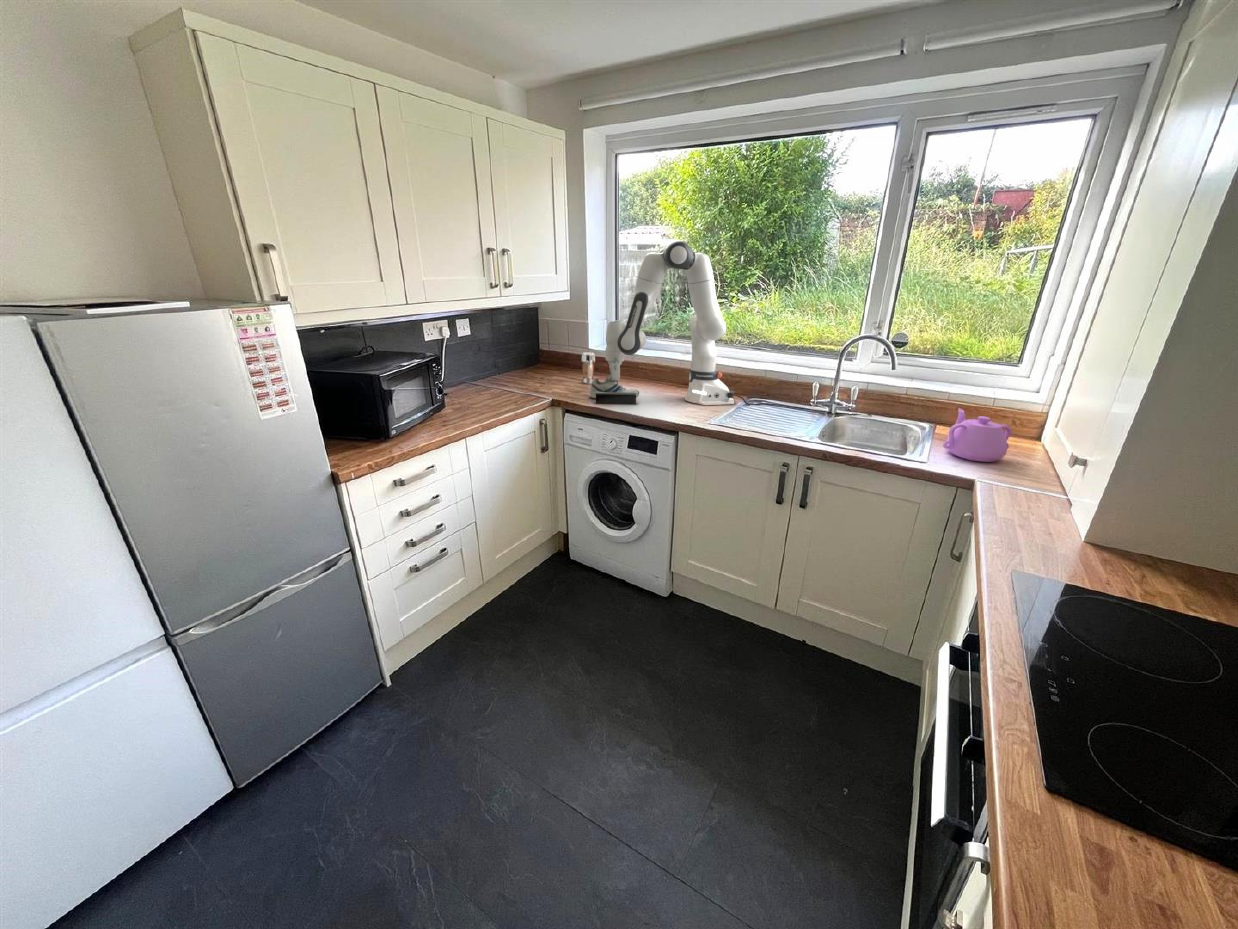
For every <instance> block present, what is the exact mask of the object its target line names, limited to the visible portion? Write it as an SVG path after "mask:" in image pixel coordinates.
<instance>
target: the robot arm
mask: <svg viewBox="0 0 1238 929" xmlns="http://www.w3.org/2000/svg"><path fill="white" fill-rule="evenodd" d="M671 269H673V270H683V271H684V272H685V274H686V279H687V280H686V281H687V286H688V293H689V300H690V305H691V306H692V308H693V311H694V314H693V315H692V317H690V320H689V323H688V324H689V325H688V326H689V330H690V340H691V363H690V368H689V373H688V387H687V392H686V394H685V397H684V400H685V401H687V402H689V403H692V404H697V405H701V406H719V405H723V406H724V405H734V404H735V399H734V397H737V398H740V399H741V400H742V401H743V402H744V404H745V405H748V406H760V405H763V406H764V405H767V406H776V407H784V408H791V409H798V410H804V411H812V412H818V413H825V414H830V413H829V412H830V411H829V410H828V411H829V412H828V411H827V410H820V409H814V408H807V407H802V406H795V405H790V404H789V405H787V404H779V403H770V402H758V403H750V402H747V401H746V400H745V398H744V397H742V396H741V395H739V394H736V393H735V390H730V389H729V387H728V386H727V385H726V384H725V383H724V382H723V381H722V380H720V378H722V377H723V373H721V372H720V371H717V369H716V367H717V358H718V357H717V356H718V352H717V348H716V341H718V340H721V339H722V338H723V337H724V335H725V334H726V332H727V325H726V324H727V323H726V322H725V320H724V318H723V315H722V311H721V308H720V305H719V302H718V298H717V292H716V285H715V277H714V276H715V275H714V270H713V267H712V264H711V259H710V257H709V255H707V254H706V253H704V252H694V250H693V249H692V248H691V247H690V245H689V244H688V243H687V242H685V241H683V240H681V239H673V240H672V241H670V242H668V243H667V244H666V246H664V248H663V249H662V250H661V251H660V252H656V251H655V252H654V251H652V252H648V253H646V255H645V256H644V258H643V260H642V262H641V264H640V267H639V270H638V273H637V278H636V282H635V286H634V293H633V298H632V304H631V308H630V310H629V314H628V318H627V320H626V321H625V320H623V319H617V320H612V321H609V322H608V323H607V326H606V332H605V343H606V347H605V361H607V364H608V366H609V375H611V379H612V381H617V382H619V381H620V379H621V365H622V364H623V362H625V360H626V359H625V358H626V356H633V355H635V354H636V353H637V352H638V351H640V350H641V349H642V348H644V347H645V345H646V343H647V336H646V333H645V332H644V331H643V330H642V329H641V328H642V324H643V322H644V319H645V315H646V313H647V311H648V310H649V308H650V307H651V305H653V304H654V302H656V300H657V299H658V297H659V295H660V292H661V290H662V287H663V282H664V279H665V277H666V276H665V275H666V273H667V272H668V271H669V270H671ZM834 412H835V413H834V414H833V415H843V416H859V415H861V414H857V413H858V412H857V413H852V412H851V413H852V414H849V412H837V411H834ZM867 415H868V416H869V415H871V416H872V414H871V413H869V414H867Z"/></svg>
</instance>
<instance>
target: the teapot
mask: <svg viewBox="0 0 1238 929" xmlns="http://www.w3.org/2000/svg"><path fill="white" fill-rule="evenodd" d="M957 411H958V415H957V416H958V417H957V419H956V422H955V423H954V424H953V425H952V426H951V427H949V430H948V437H947V438H946V440H945V441H944V442H943V443H942V446H943V448H944V449H945V450H948V451H949V452H950V453H951V454H952V455H953V456H957V457H959V458H962V459H965V460H966V461H971V462H972V461H975V462H983V463H984V462H985V463H986V462H987V463H991V462H997V461H999V460H1001V459H1002V458H1004V457H1005V456H1006V455H1007V451H1008V449H1009V448H1010V447H1009V443H1008V440H1009V438H1010V436H1011V434H1012V429H1011V427H1010V426H1009V425H1007V424H999V423H996V422H993V421H990V420H991V418H990V417H988V416H984V415H979V416H977V419H975V418H969V419H966V412H965V411H964V409H962V408H961V407H957ZM1004 429H1005V431H1004Z"/></svg>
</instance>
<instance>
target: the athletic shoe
mask: <svg viewBox="0 0 1238 929" xmlns="http://www.w3.org/2000/svg"><path fill="white" fill-rule="evenodd" d="M593 379H594V380H593V381H592V383H591V384H590V388H589V389H590V390H589V392H588V393H589V395H588V396H589V398H590V399H594V400H596V392H636V398H637V397H638V396H639V394H640V391H639V390H638V389H636V388H631V389H630V388H629V389H628V388H626V387H624V386H622V385H621V384H620V383H619V381H612V379H611V374H609V375H607V376H606V378H605V381H600V380H599V378H593Z"/></svg>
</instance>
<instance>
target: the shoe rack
mask: <svg viewBox="0 0 1238 929" xmlns="http://www.w3.org/2000/svg"><path fill="white" fill-rule="evenodd" d="M595 404H596V405H637V397H636V392H596V399H595Z"/></svg>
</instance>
